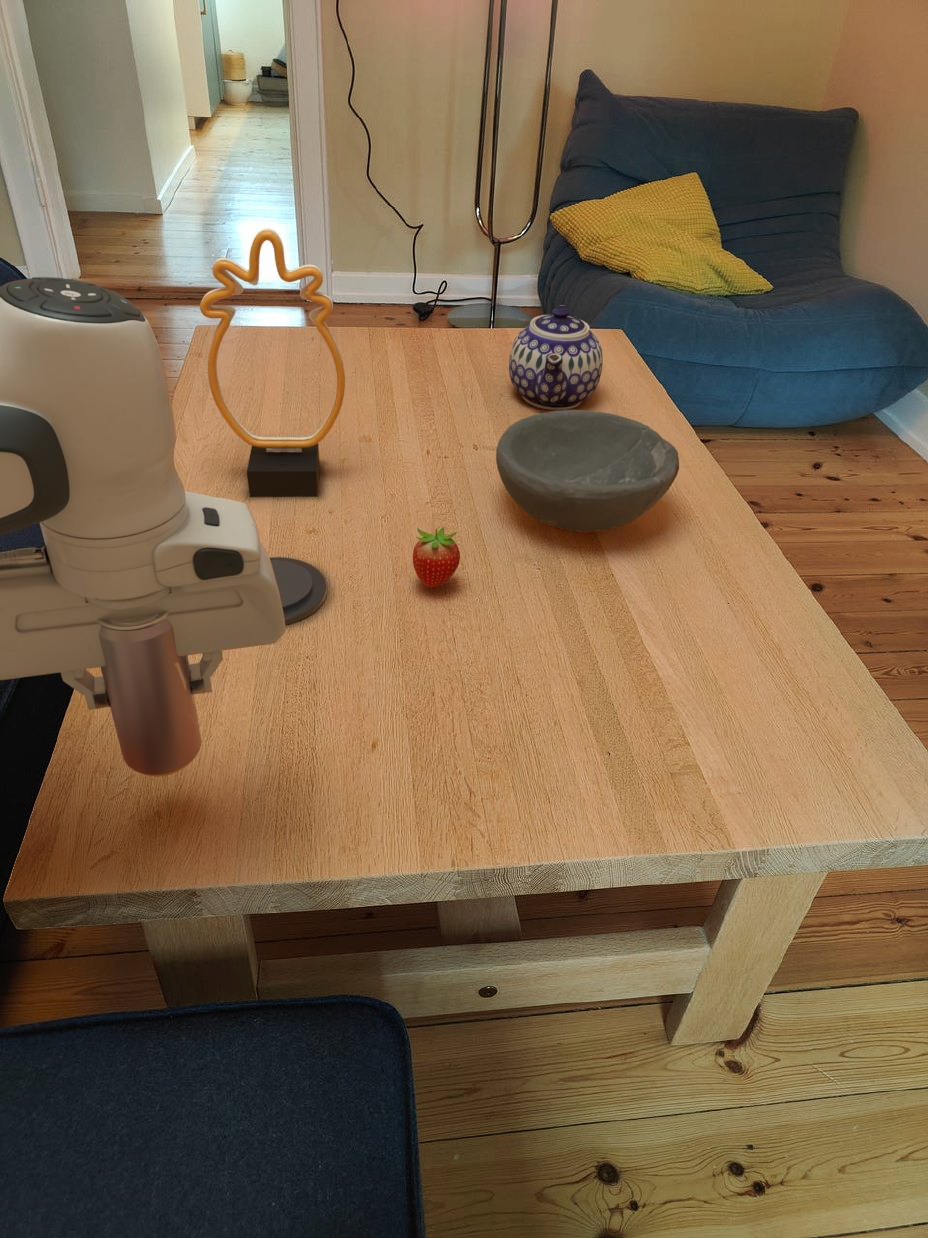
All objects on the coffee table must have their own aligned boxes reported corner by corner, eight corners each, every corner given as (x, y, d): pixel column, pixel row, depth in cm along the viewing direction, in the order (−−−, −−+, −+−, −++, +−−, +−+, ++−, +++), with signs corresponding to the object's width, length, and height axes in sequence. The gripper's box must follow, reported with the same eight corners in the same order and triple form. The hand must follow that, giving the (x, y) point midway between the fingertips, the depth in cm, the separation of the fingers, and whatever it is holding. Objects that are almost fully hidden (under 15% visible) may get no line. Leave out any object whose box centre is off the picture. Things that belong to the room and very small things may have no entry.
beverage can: (133, 725, 70) (99, 575, 61) (208, 725, 71) (185, 577, 62) (114, 780, 65) (75, 627, 56) (194, 781, 66) (168, 629, 57)
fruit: (432, 568, 102) (434, 510, 97) (466, 586, 99) (470, 527, 94) (401, 587, 98) (402, 528, 93) (436, 606, 96) (438, 547, 91)
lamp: (218, 496, 111) (181, 239, 92) (226, 463, 118) (193, 218, 99) (348, 496, 113) (339, 244, 94) (348, 463, 120) (340, 222, 100)
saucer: (222, 634, 90) (221, 624, 89) (213, 569, 99) (211, 560, 98) (335, 617, 93) (335, 607, 92) (317, 556, 102) (316, 547, 101)
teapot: (517, 363, 152) (526, 277, 143) (602, 374, 150) (615, 288, 141) (493, 423, 132) (501, 328, 123) (590, 437, 131) (605, 341, 121)
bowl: (567, 453, 126) (577, 389, 120) (696, 516, 114) (714, 448, 108) (455, 505, 113) (459, 435, 107) (587, 582, 101) (600, 509, 95)
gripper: (-67, 586, 51) (-5, 749, 59) (283, 550, 56) (293, 703, 65) (-51, 530, 55) (4, 688, 64) (270, 502, 61) (281, 650, 69)
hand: (152, 695), depth 64 cm, fingers closed on beverage can, 6 cm apart
